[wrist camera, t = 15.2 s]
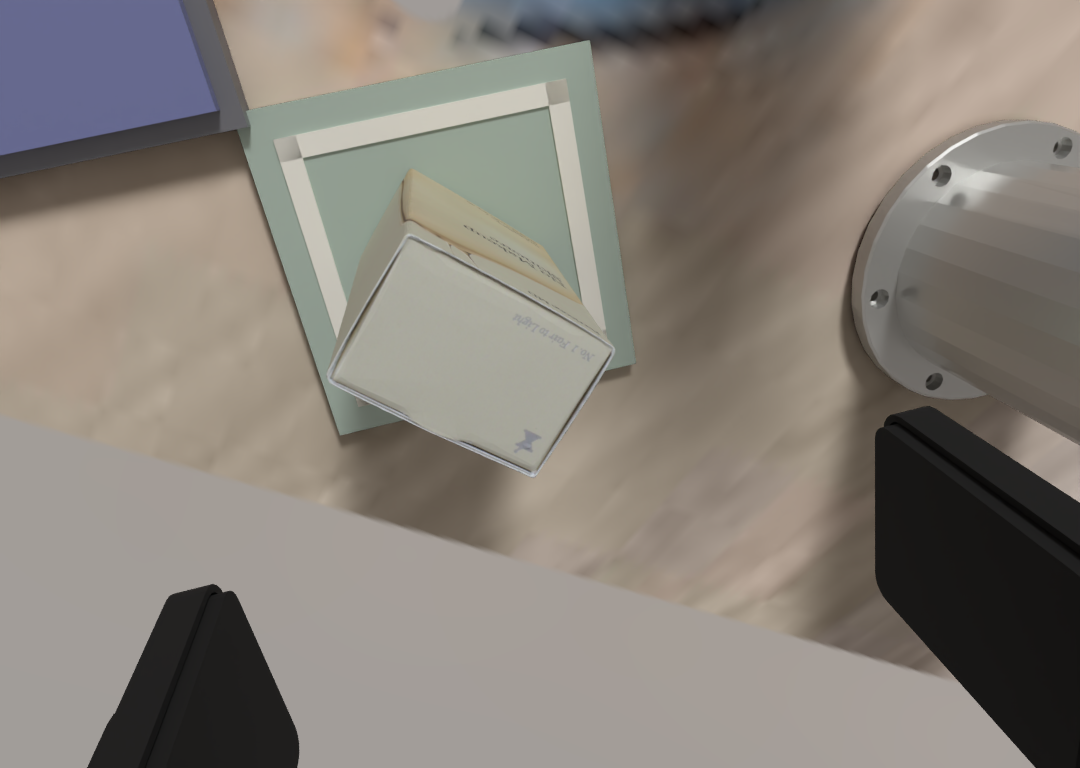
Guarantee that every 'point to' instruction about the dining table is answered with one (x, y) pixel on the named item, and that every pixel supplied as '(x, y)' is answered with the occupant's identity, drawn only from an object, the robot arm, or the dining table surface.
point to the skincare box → (467, 330)
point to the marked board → (441, 182)
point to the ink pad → (110, 79)
